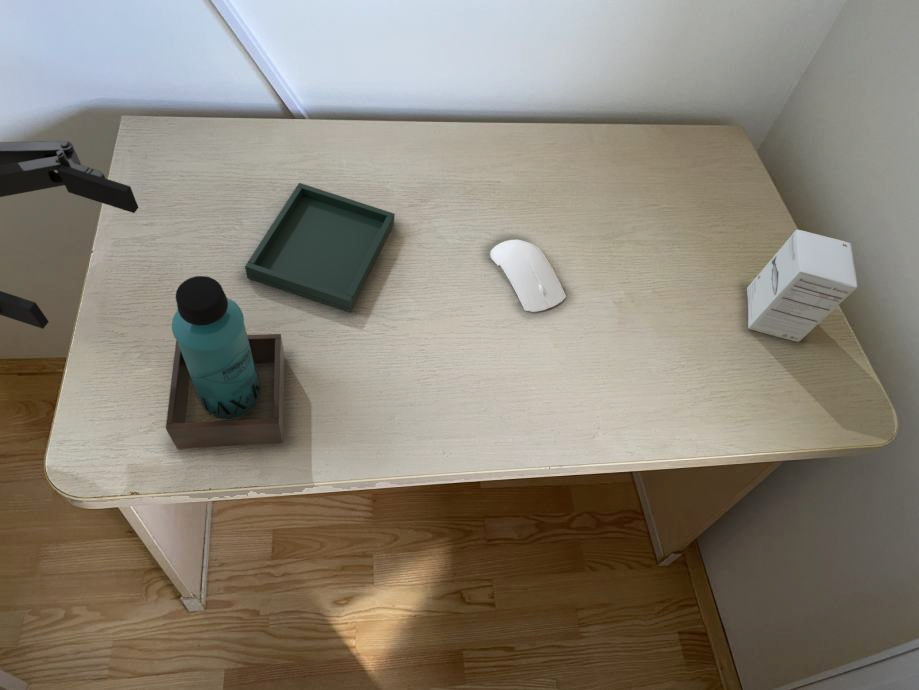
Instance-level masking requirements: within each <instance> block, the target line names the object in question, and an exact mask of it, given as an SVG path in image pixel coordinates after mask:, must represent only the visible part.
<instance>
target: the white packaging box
mask: <svg viewBox="0 0 919 690" xmlns="http://www.w3.org/2000/svg"><path fill="white" fill-rule="evenodd" d="M853 253H854V252H853V248H852V243H850V242H847V241H845V240H842V239H837V238H833V237H828V236H825V235H822V234H817V233H813V232H809V231H805V230H802V229H795V230H794V232H793V233H791V235H790V236H789V238H788V239H787V240H786V241H785V242H784V243H783V244H782V246H781V247H780V248H779V249H778V250H777V252H776V253H775V254H774V256H773V257H772V258H771V259H770V260H769V262H768V263H767V264H766V265H765V266H764V267H763V269H761V271H760V272H759V273H758V274H757V276H756V277H755V278H754V279H753V280H752V282H750V284H749V285H748V286H747V288H746V294H747V329H748V330H750V331H754V332H758V333H762V334H766V335H770V336H772V337H777V338H781V339H785V340H788V341H791V342H792V341H793V342H795V343H799V342H801V341H802V340H803V339H804V338H805V337H806V336H807V335H808V334H809V333H810V332H811V331H813V330H814V328H815V327H817V326H818V325H819V324H820V323H821V322H822V321H823V320H824V319H826V317H827V316H829V314H831V313H832V312H833V311H834V310H835V309H836V308H837V307H838V306H840V304H841V303H843V302H844V301H845V300H846V299H847V298H848V297H849V296H850V295H851V294H852V293H853V292H854V291H856V290H857V289H858V280H857V273H856V268H855V267H856V266H855V260H854V254H853Z"/></svg>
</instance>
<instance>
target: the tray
mask: <svg viewBox="0 0 919 690" xmlns="http://www.w3.org/2000/svg"><path fill="white" fill-rule="evenodd" d="M395 215H396V214H395V213H394V212H391V211H388V210H385V209H381V208H379V207H375V206H373V205H369V204H366V203H363V202H360V201H357V200H353V199H352V198H348V197H345V196H341V195H338V194H335V193H333V192H329V191H326V190H323V189H320V188H318V187H317V188H316V187H314V186H312V185H308V184H304V183H302V182H298V184H297V185H296V187H295V188H294V190H293V191H292V193H291V195H289V197H288V198H287V201H286V202H285V204H284V205H283V207H282V208H281V210H280V211H279V213H278V214H277V216H276V217H275V219H274V221H272V224H271V225H270V227H269V228H268V230H267V231H266V233H265V234H264V236H263V238H262V239H261V241H260V243H259V244H258V245H257V247H256V248H255V250H254V251H253V253H252V255H251V256H250V258H249V260H248V261H247V262H246V264H245V266H244V269H245V273H246V278H247V279H249V280H252V281H255V282H259V283H261V284H264V285H267V286H270V287H273V288H276V289H279V290H282V291H285V292H288V293H291V294H294V295H297V296H300V297H303V298H305V299H310V300H312V301H315V302H317V303H321V304H324V305H327V306H329V307H332V308H336V309H339V310H342V311H345V312H348V313H352V311H353V308H354V306H355V304H356V302H357V300H358V298H359V296H360V295H361V293H362V290H363V288H364V286H365V284H366V282H367V280H368V278H369V276H370V274H371V272H372V270H373V268H374V266H375V264H376V262H377V260H378V259H379V256H380V254H381V253H382V250H383V248H384V246H385V245H386V242H387V240H388V238H389V236H390V234H391V232H392V230H393V228H394V226H395Z"/></svg>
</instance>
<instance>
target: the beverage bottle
mask: <svg viewBox="0 0 919 690" xmlns="http://www.w3.org/2000/svg"><path fill="white" fill-rule="evenodd" d="M175 302H176V307H177V310H176V312H175V313H174V315H173V318H172V321H171V331H172V335H173V337H174V339H175V341H176V340H177V342H178V345H179V347H180V350H181V353H182V355H183V358H184V360H185V363H186V366H187V368H186V369H188V372H189V373H188V374H190V383H191V384H192V386H193V387H192V389H193V391H194V393H195V396H196V399H197V401H198V402H199V405H201V408H202V410H204V412H205V413H206V414H208V415H210V416H211V417H214V418H216V419H220V420H236V419H238V418H241V417H243V416H245V415H247V414H248V413H250V412H251V411H252V410H253V409H254V408H255V406H256V405H257V404H258V402H259V400H260V395H261V393H262V392H261V389H262V387H261V386H260V385H261V383H260V382H259V379H260V378H259V376H260V375H259V373H258V372H259V371H257V368H256V364H255V362H254V360H253V357H252V353H251V349H250V344H249V340H248V337H247V336H248V335H249V334H247V329H246V325H245V318H244V314H243V310H242V308H241V307H240V306H239V304H238V303H236V302H235V301H234V300H232V299H231V298H229V297H227V295H226V293H225V291H224V289H223V287H222V284H220V283H219V281H218V280H216V279H215V278H212V277H211V276H205V275H197V276H193V277H189V278H187V279H185V280H184V281H183V282H182V283H180V285H179V286H178V287H177V289H176V292H175ZM249 339H250V338H249ZM252 352H253V351H252Z"/></svg>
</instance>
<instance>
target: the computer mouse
mask: <svg viewBox="0 0 919 690" xmlns="http://www.w3.org/2000/svg"><path fill="white" fill-rule="evenodd" d="M489 253H490V255H489V256H490V259H491V260H492V261H493V262H494V263H495V264H496V266H497V267H499V266H500V268H501V269H502V271H503V273H504V274H505V276H506V277H507V280H508V281H509V282H510V284H511V286H512V288H513V290H514V291H515V294H516V296H517V297H518V300H519V302H520V304H521V306H522V308H523V310H524V311H526V312H529V313H537V312H538V313H539V312H542V311H546V310H548V309H550V308H553V307H556V306H557V305H559V304H560V303H562V302H563V300H565V299H566V298H567V295H566V293H565V291H564V289H563V286H562V284H561V282H560V280H559V278H558V276H557V274H556V273H555V270H554V269H553V267H552V265H551V263H550V262H549V260H548V259H547V257H546V256H545V254H544V252H543V251H542V250H541V248H539V247H538V246H536V245H535V244H533V243H531V242H528V241H526V240H522V239H509V240H508V239H507V240H505V241H502V242H500V243H498V244H496V245H495V246H494V247H492V249H491V250H490V252H489Z"/></svg>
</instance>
